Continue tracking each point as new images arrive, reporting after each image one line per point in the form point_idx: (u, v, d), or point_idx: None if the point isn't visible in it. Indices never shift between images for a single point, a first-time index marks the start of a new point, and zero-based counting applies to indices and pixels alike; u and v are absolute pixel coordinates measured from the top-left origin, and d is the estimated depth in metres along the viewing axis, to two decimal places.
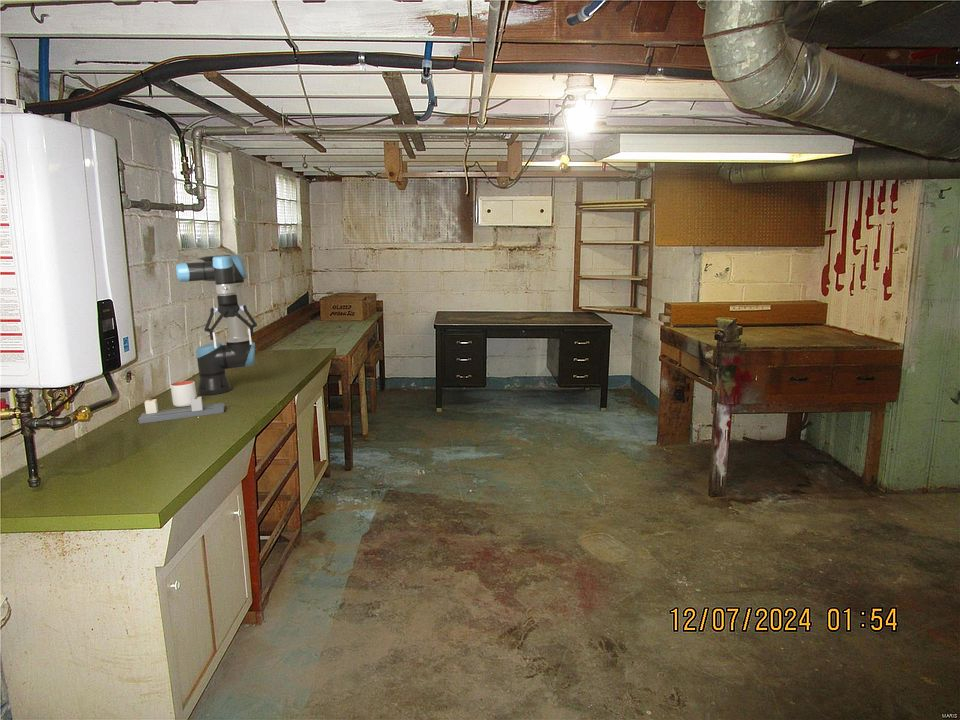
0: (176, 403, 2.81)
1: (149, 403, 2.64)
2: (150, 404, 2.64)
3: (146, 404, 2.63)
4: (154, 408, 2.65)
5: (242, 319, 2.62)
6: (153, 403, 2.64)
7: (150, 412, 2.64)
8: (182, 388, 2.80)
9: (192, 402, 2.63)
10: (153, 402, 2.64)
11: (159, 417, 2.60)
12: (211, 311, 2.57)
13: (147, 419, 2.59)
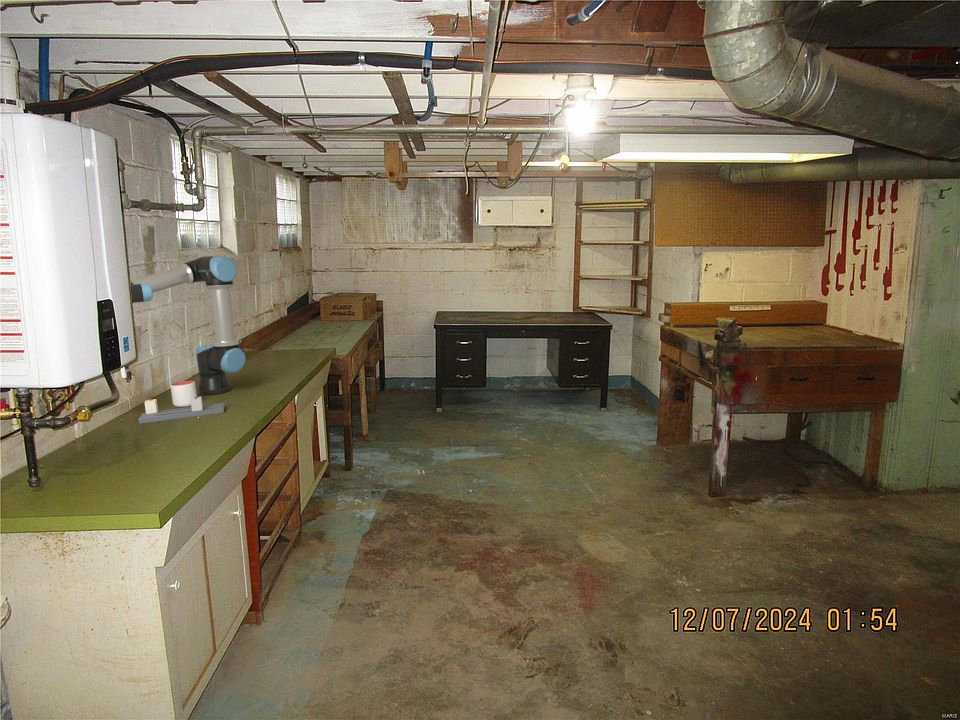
0: (176, 403, 2.81)
1: (149, 403, 2.64)
2: (150, 404, 2.64)
3: (146, 404, 2.63)
4: (154, 408, 2.65)
5: None
6: (153, 403, 2.64)
7: (150, 412, 2.64)
8: (182, 388, 2.80)
9: (192, 402, 2.63)
10: (153, 402, 2.64)
11: (159, 417, 2.60)
12: None
13: (147, 419, 2.59)
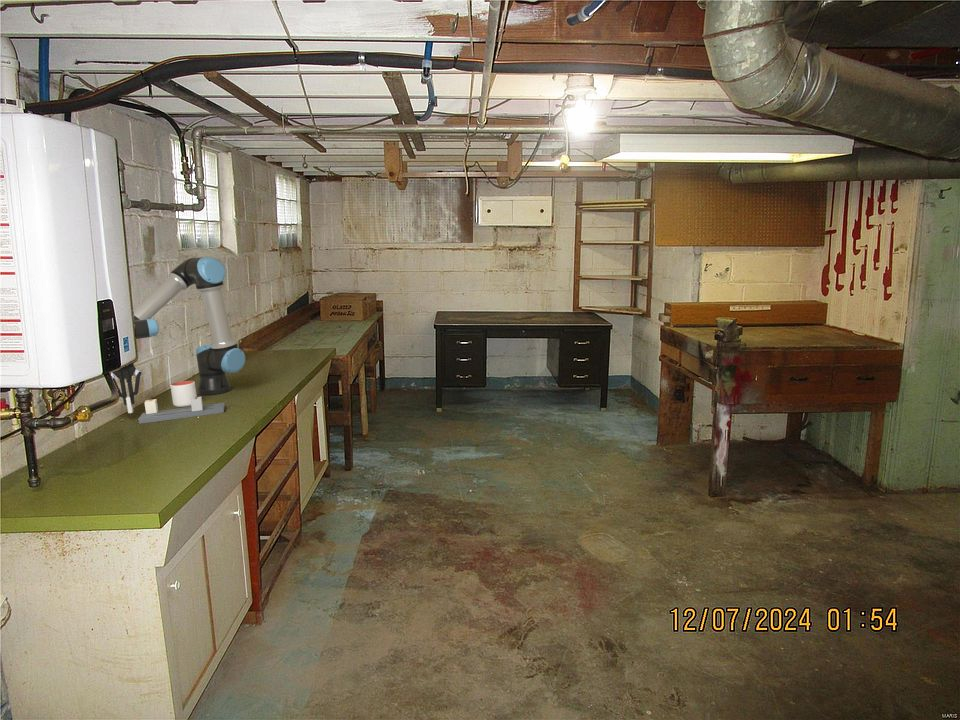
0: (176, 403, 2.81)
1: (149, 403, 2.64)
2: (150, 404, 2.64)
3: (146, 404, 2.63)
4: (154, 408, 2.65)
5: (129, 384, 2.61)
6: (153, 403, 2.64)
7: (150, 412, 2.64)
8: (182, 388, 2.80)
9: (192, 402, 2.63)
10: (153, 402, 2.64)
11: (159, 417, 2.60)
12: None
13: (147, 419, 2.59)
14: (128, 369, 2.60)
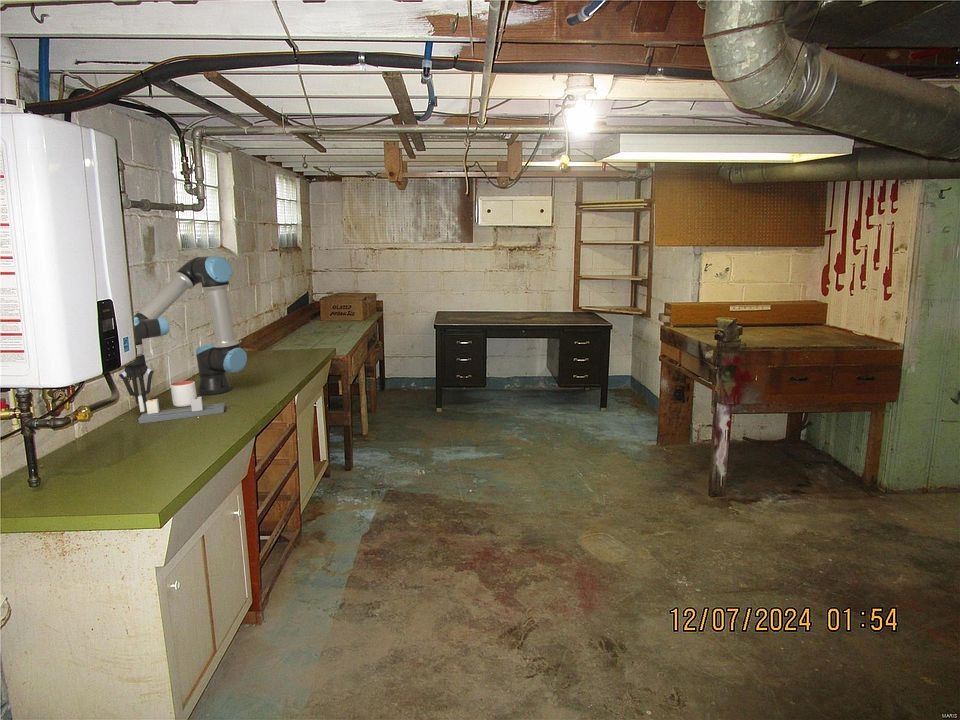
0: (176, 403, 2.81)
1: (150, 403, 2.64)
2: (151, 404, 2.64)
3: (147, 404, 2.63)
4: (155, 408, 2.65)
5: (141, 383, 2.62)
6: (154, 403, 2.64)
7: (151, 412, 2.64)
8: (182, 388, 2.80)
9: (192, 402, 2.63)
10: (154, 402, 2.64)
11: (159, 417, 2.60)
12: (121, 377, 2.59)
13: (147, 419, 2.59)
14: (140, 368, 2.61)
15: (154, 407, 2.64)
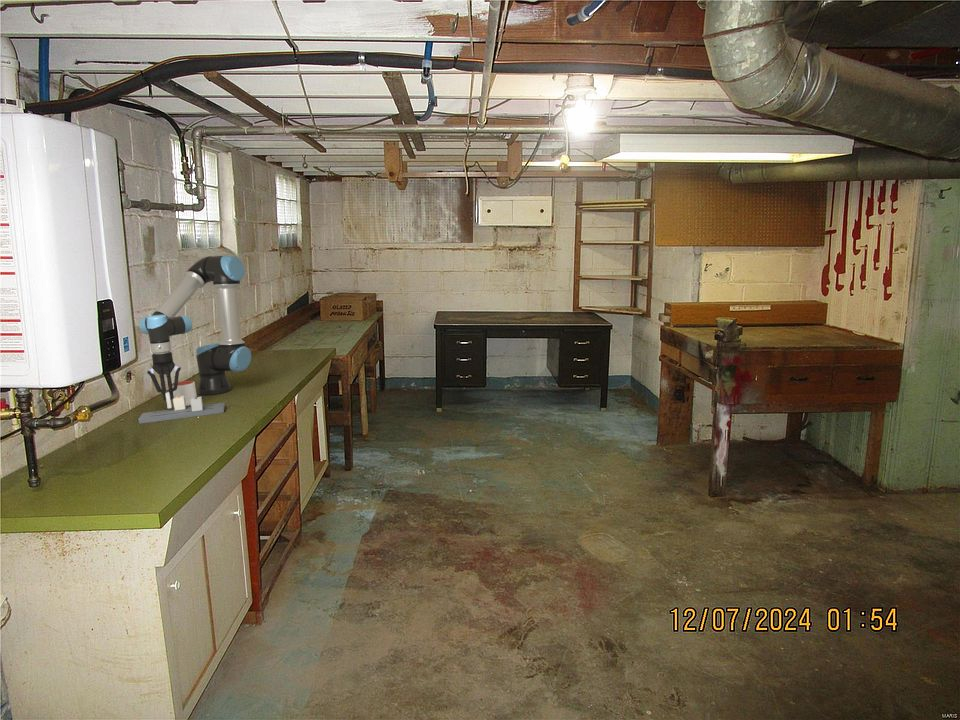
0: None
1: (178, 400, 2.67)
2: (178, 401, 2.67)
3: (175, 401, 2.67)
4: (182, 404, 2.68)
5: (168, 380, 2.65)
6: (181, 400, 2.67)
7: (178, 408, 2.68)
8: (182, 388, 2.80)
9: (192, 402, 2.63)
10: (181, 399, 2.67)
11: (159, 417, 2.60)
12: (149, 374, 2.63)
13: (147, 419, 2.59)
14: (168, 365, 2.64)
15: (181, 404, 2.68)
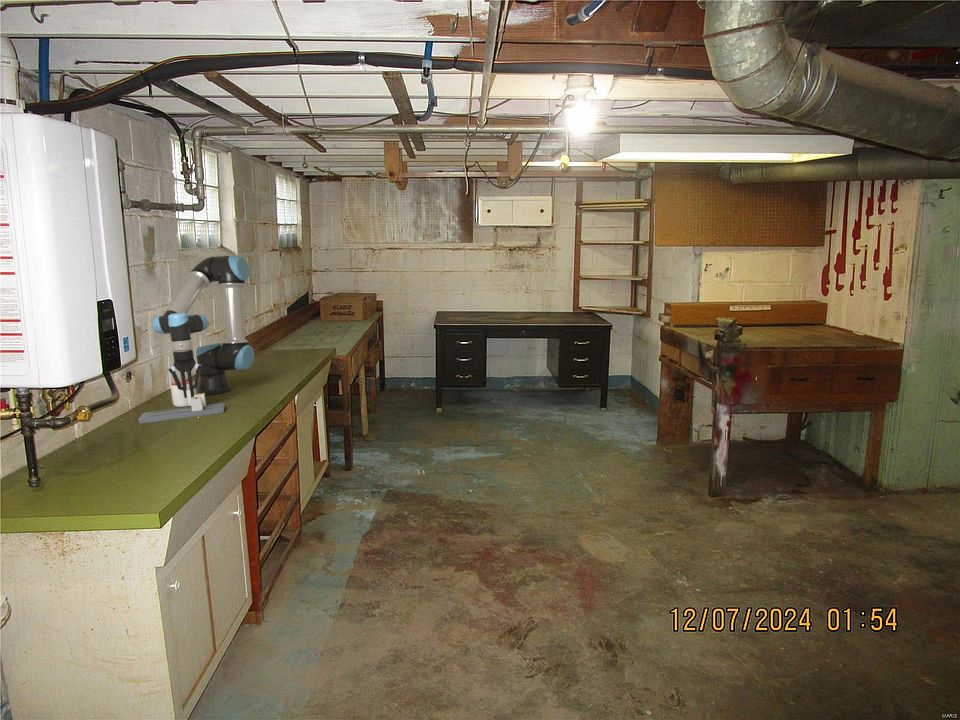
0: (176, 403, 2.81)
1: None
2: None
3: None
4: (203, 402, 2.70)
5: (189, 378, 2.68)
6: (202, 397, 2.70)
7: None
8: None
9: (192, 402, 2.63)
10: (202, 396, 2.70)
11: (159, 417, 2.60)
12: (171, 371, 2.65)
13: (147, 419, 2.59)
14: (189, 363, 2.67)
15: None
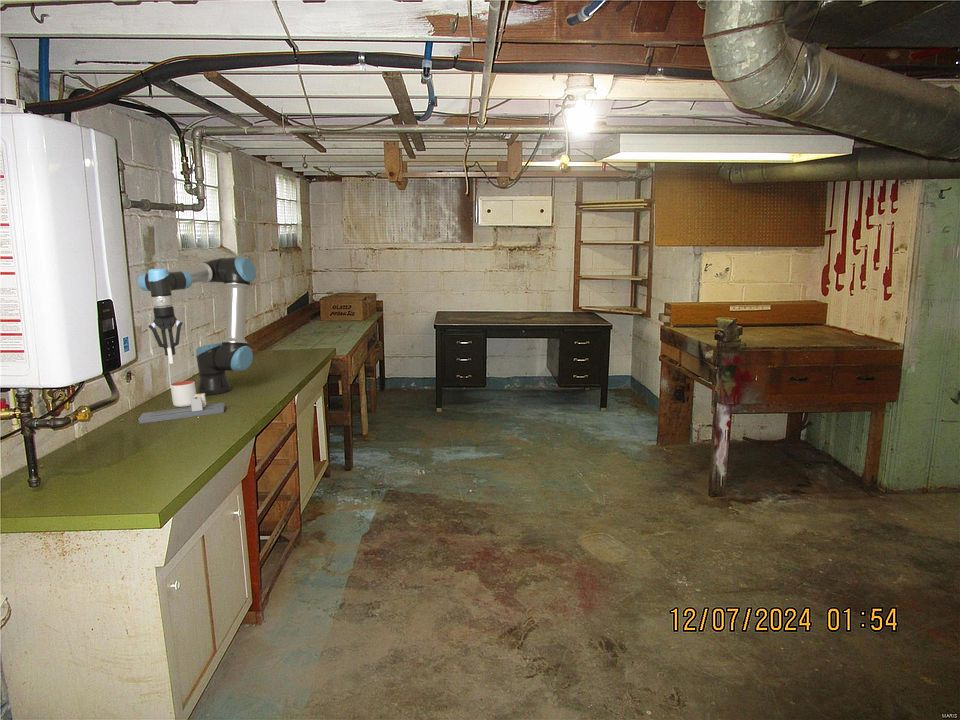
0: (176, 403, 2.81)
1: None
2: None
3: None
4: (203, 402, 2.70)
5: (170, 335, 2.63)
6: (202, 397, 2.70)
7: None
8: (182, 388, 2.80)
9: (192, 402, 2.63)
10: (202, 396, 2.70)
11: (159, 417, 2.60)
12: (151, 328, 2.60)
13: (147, 419, 2.59)
14: (169, 319, 2.62)
15: (202, 401, 2.70)
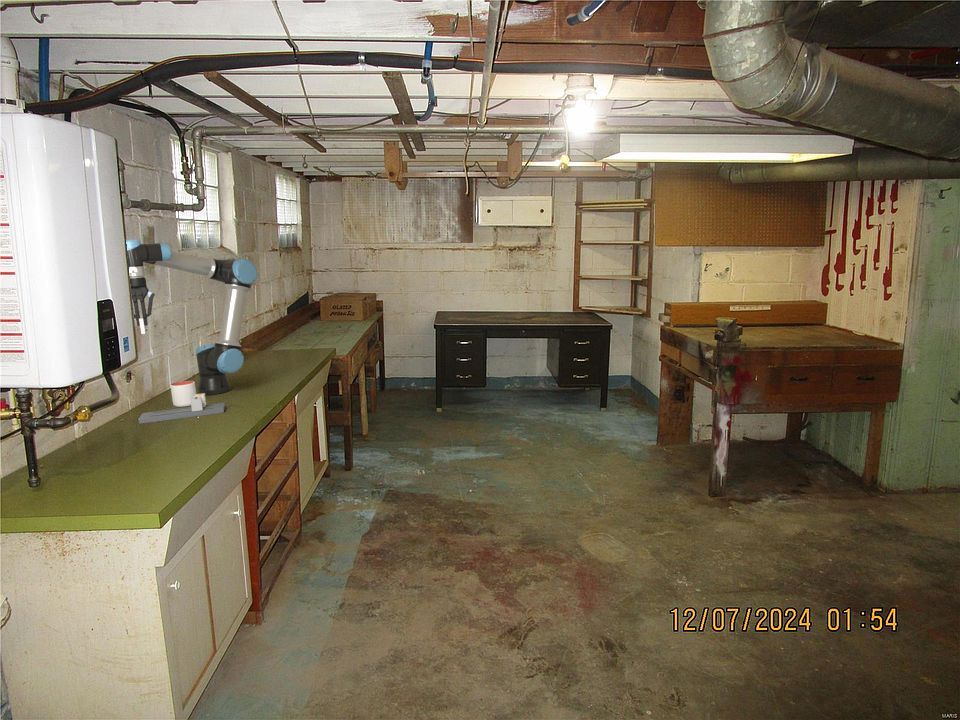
0: (176, 403, 2.81)
1: None
2: None
3: None
4: (203, 402, 2.70)
5: (142, 305, 2.66)
6: (202, 397, 2.70)
7: None
8: (182, 388, 2.80)
9: (192, 402, 2.63)
10: (202, 396, 2.70)
11: (159, 417, 2.60)
12: None
13: (147, 419, 2.59)
14: (141, 290, 2.65)
15: (202, 401, 2.70)
